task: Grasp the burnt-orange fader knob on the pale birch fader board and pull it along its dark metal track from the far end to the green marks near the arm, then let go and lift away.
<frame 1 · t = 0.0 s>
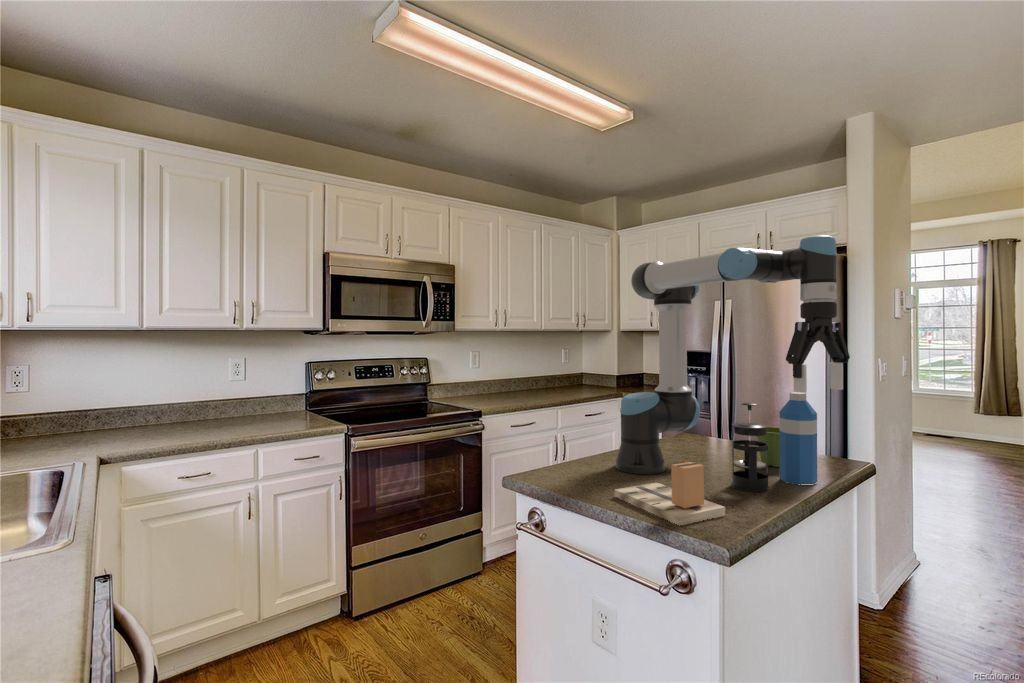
hand: (818, 390, 124), 28 cm above the worktop, tool pointing down, fingers open, 13 cm apart
fader: (687, 484, 120), point 7 cm above the worktop, slide at 7.0 cm
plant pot: (774, 465, 167), on the worktop
french press: (750, 488, 142), on the worktop
fader board: (666, 505, 127), on the worktop
water bottle: (798, 481, 147), on the worktop
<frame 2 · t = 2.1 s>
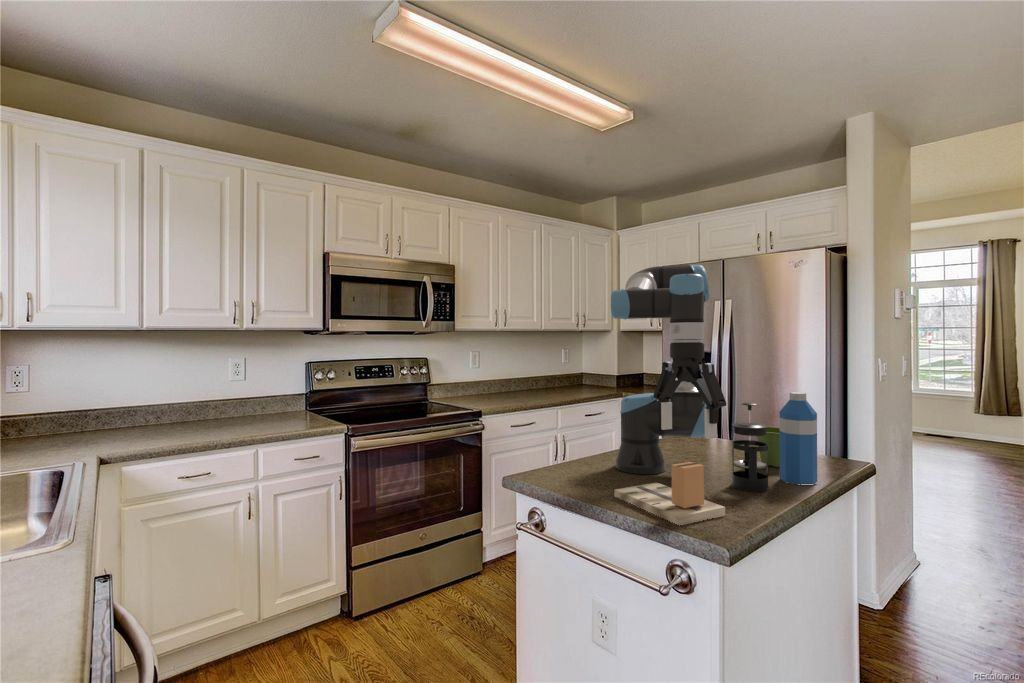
hand: (687, 433, 120), 19 cm above the worktop, tool pointing down, fingers open, 13 cm apart
nothing on the worktop moved.
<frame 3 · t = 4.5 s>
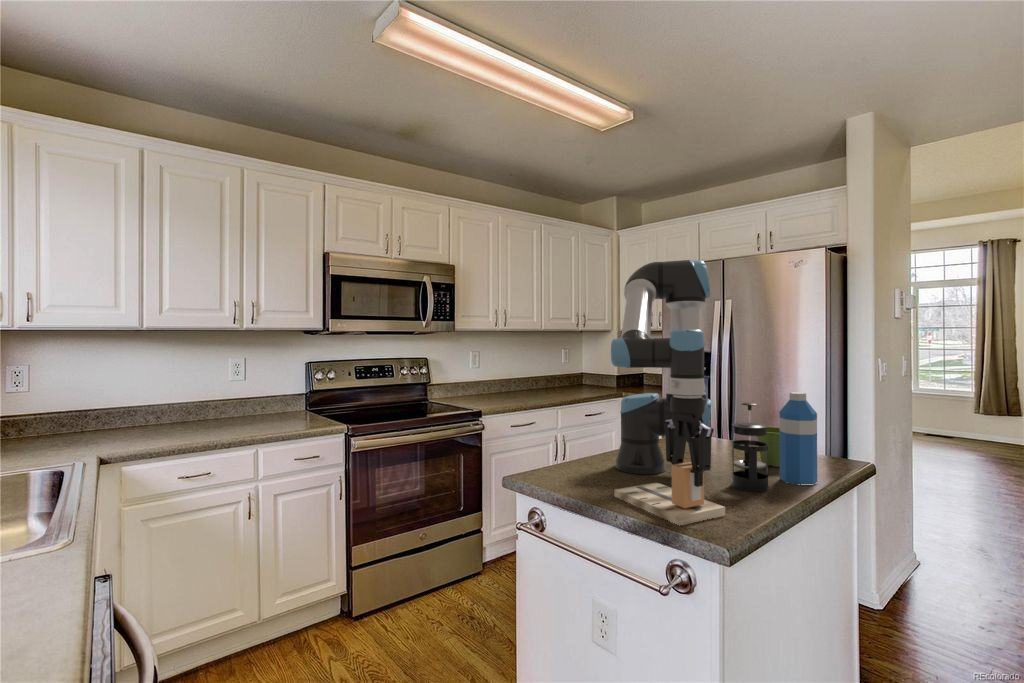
hand: (687, 496, 120), 4 cm above the worktop, tool pointing down, fingers closed on fader, 4 cm apart
fader: (687, 484, 120), point 7 cm above the worktop, slide at 7.0 cm, touching gripper
everything else where it was.
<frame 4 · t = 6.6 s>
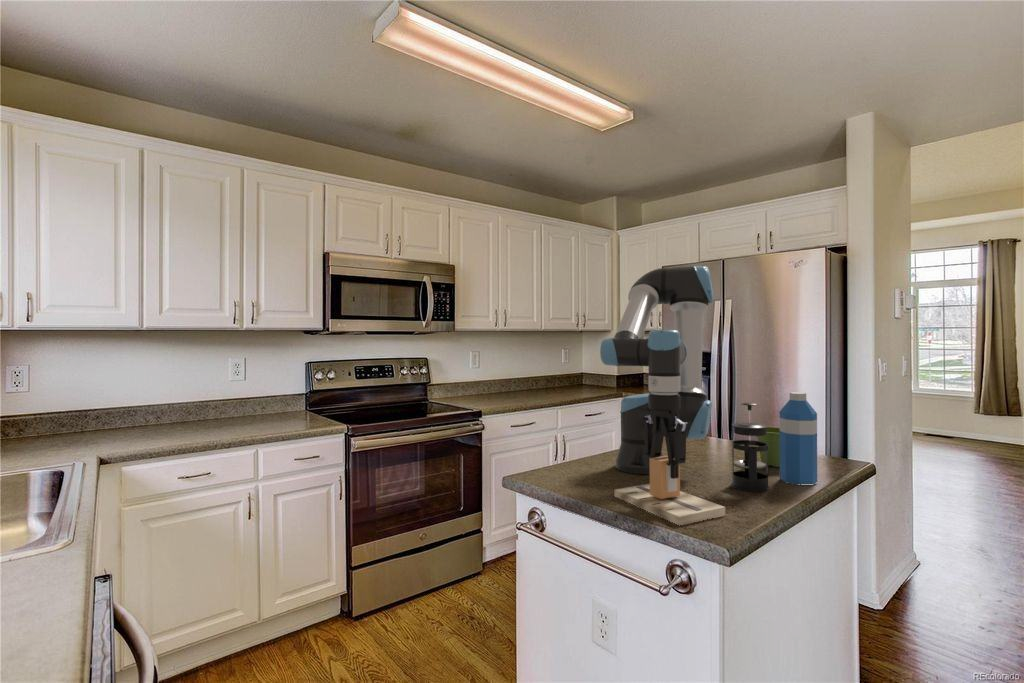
hand: (664, 488, 127), 4 cm above the worktop, tool pointing down, fingers closed on fader, 4 cm apart
fader: (664, 476, 127), point 7 cm above the worktop, slide at -0.6 cm, touching gripper
everything else where it was.
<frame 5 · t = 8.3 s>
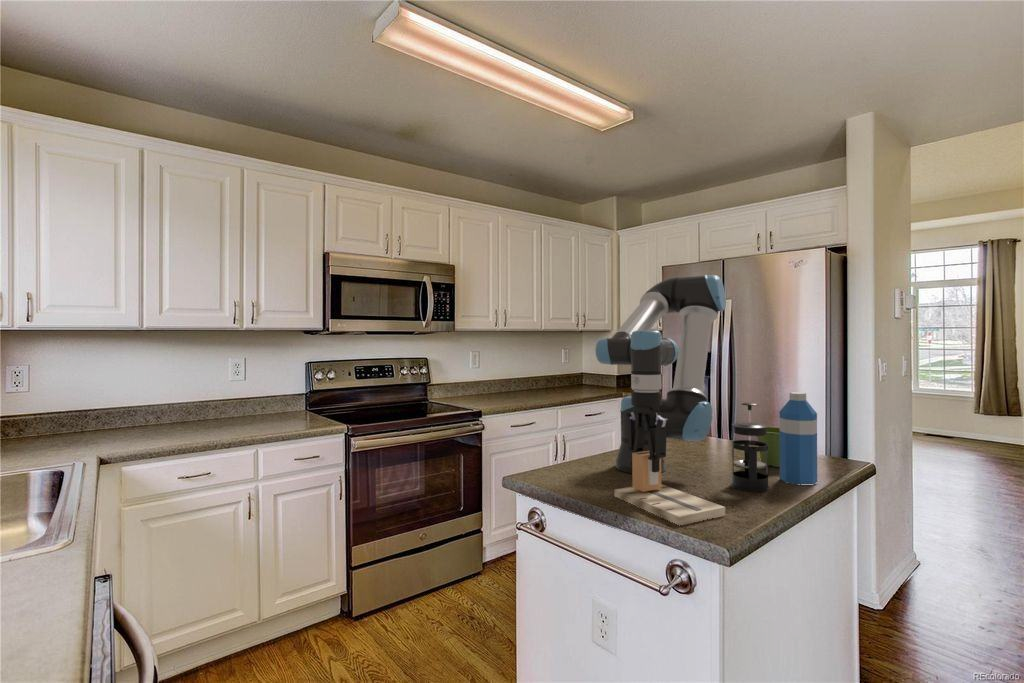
hand: (646, 481, 133), 4 cm above the worktop, tool pointing down, fingers closed on fader, 4 cm apart
fader: (646, 470, 133), point 7 cm above the worktop, slide at -7.2 cm, touching gripper
everything else where it was.
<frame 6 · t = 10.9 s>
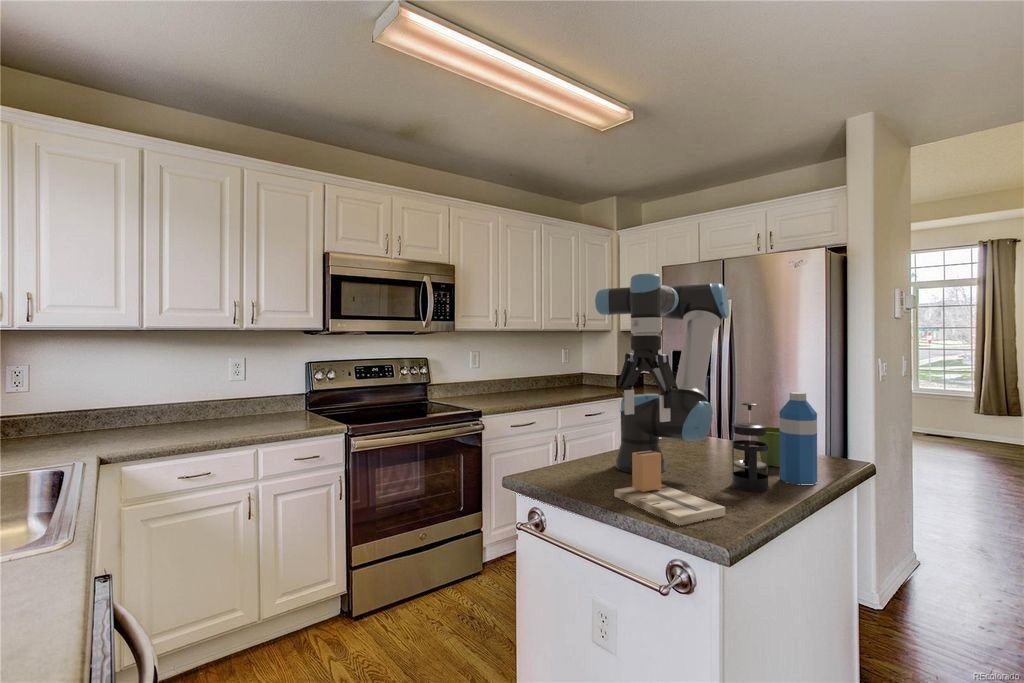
hand: (646, 417, 133), 21 cm above the worktop, tool pointing down, fingers open, 13 cm apart
fader: (646, 470, 133), point 7 cm above the worktop, slide at -7.2 cm
everything else where it was.
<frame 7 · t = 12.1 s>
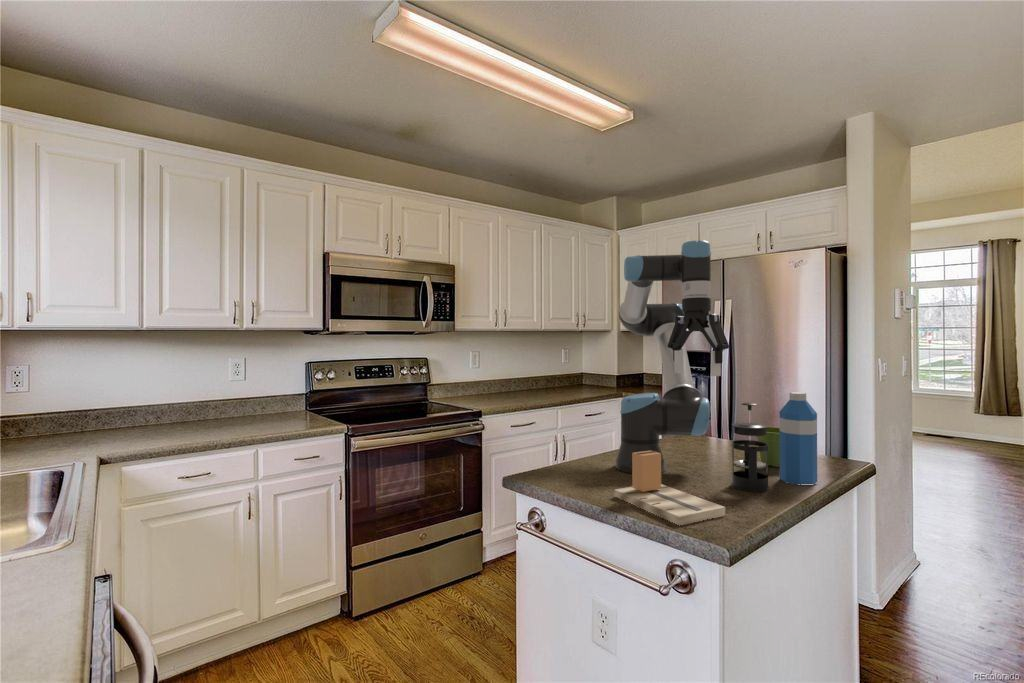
hand: (696, 374, 144), 31 cm above the worktop, tool pointing down, fingers open, 13 cm apart
nothing on the worktop moved.
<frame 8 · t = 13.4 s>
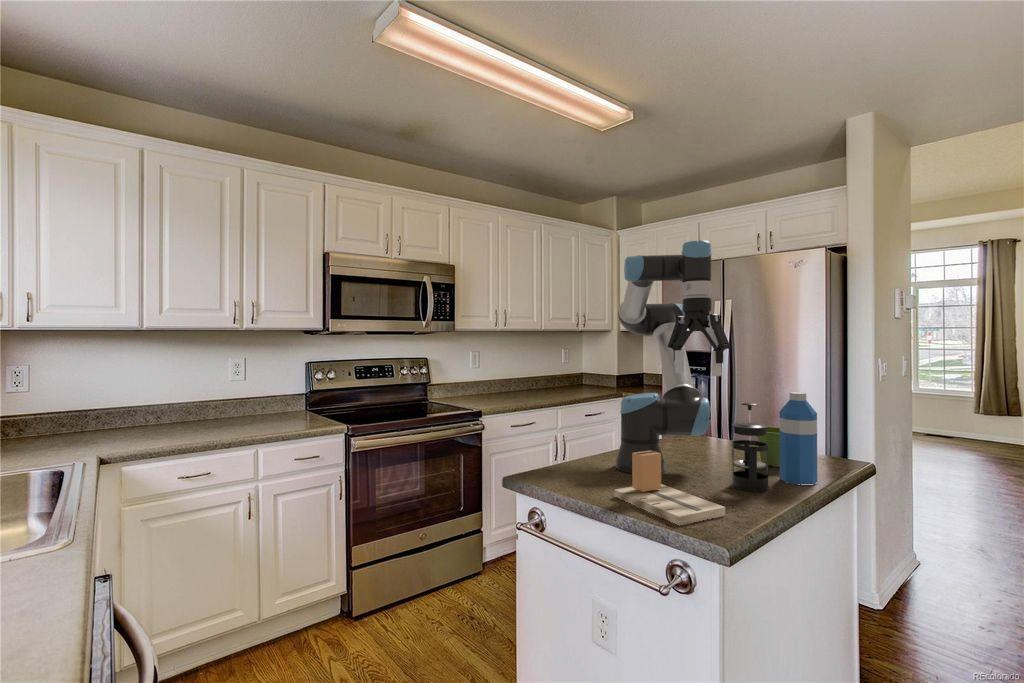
hand: (697, 374, 144), 31 cm above the worktop, tool pointing down, fingers open, 13 cm apart
nothing on the worktop moved.
at the end: fader slide at -7.2 cm; the gripper is holding nothing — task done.
